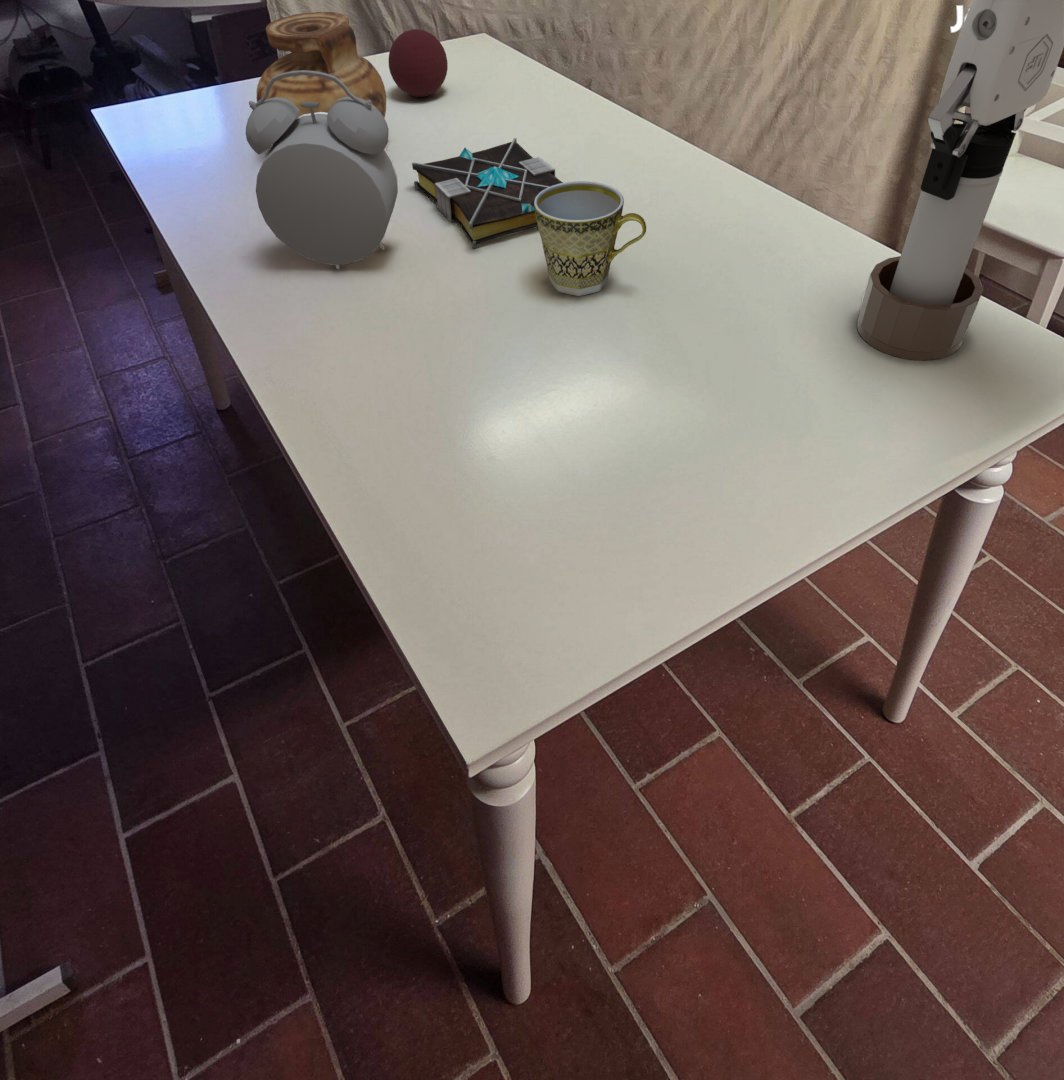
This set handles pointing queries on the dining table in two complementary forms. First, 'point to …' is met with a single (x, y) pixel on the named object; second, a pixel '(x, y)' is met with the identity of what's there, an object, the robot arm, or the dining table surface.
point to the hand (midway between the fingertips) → (960, 181)
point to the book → (487, 189)
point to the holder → (915, 317)
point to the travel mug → (950, 225)
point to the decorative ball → (418, 63)
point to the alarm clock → (324, 174)
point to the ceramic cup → (581, 233)
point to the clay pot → (319, 62)
